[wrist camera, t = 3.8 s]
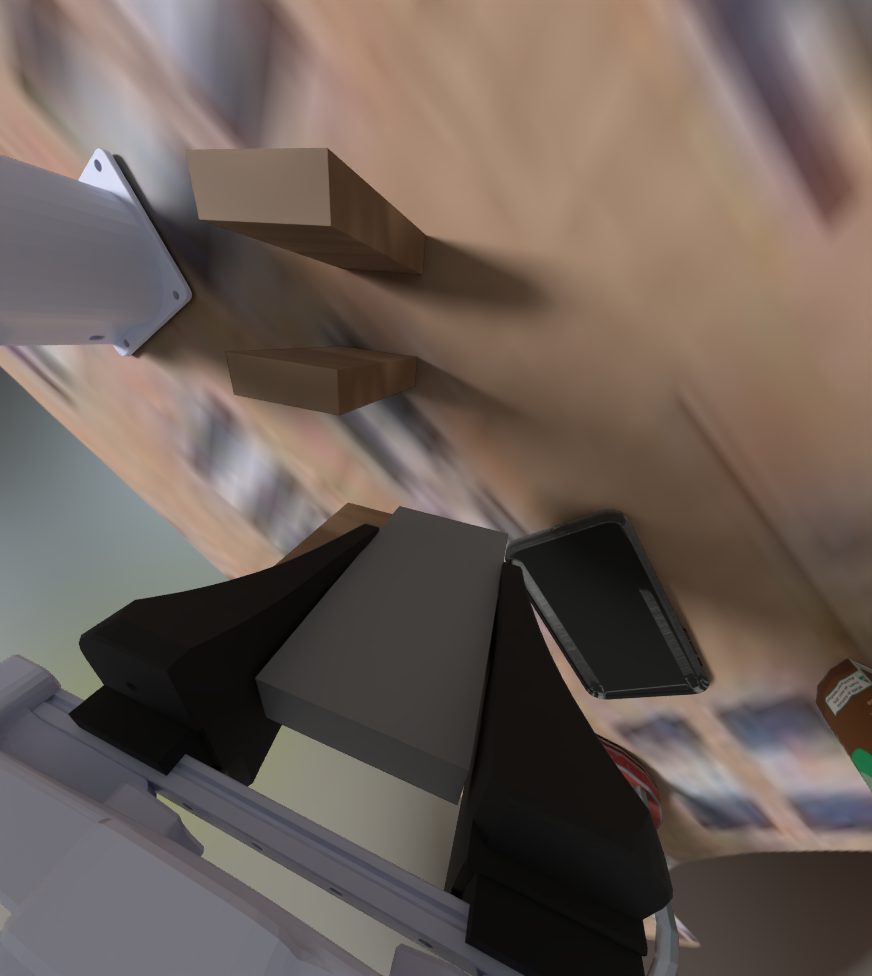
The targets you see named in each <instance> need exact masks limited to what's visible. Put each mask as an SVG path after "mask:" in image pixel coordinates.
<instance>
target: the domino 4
mask: <svg viewBox="0 0 872 976" xmlns="http://www.w3.org/2000/svg"><path fill="white" fill-rule="evenodd" d="M507 538H508V534H506V533H502V532H498V531H494V530H490V529H487V528H483V527H479V526H475V525H471V524H467V523H463V522H459V521H455V520H451V519H448V518H444V517H440V516H436V515H432V514H428V513H424V512H420V511H416V510H413V509H409V508H405V507H401V506H399V507H398V509H397V510H396V511H395V512H394V513H393V514H392V516H391V517H390V518H389V519H388V520H387V522H386V523H385V524H384V525H383V526H382V528H381V529H380V530H379V532H378V534H377V535H376V536H375V537H374V538H373V540H372V541H371V542H370V543H369V544H368V546H367V547H366V548H365V549H364V550H363V551H362V552H361V553H360V554H359V555H358V556H357V557H356V559H355V560H354V561H353V562H352V563H351V564H350V566H349V567H348V568H347V569H346V570H345V572H344V573H343V574H342V575H341V576H340V578H339V579H338V580H337V581H336V582H335V584H334V585H333V586H332V587H331V588H330V589H329V591H328V592H327V593H326V594H325V595H324V597H323V598H322V599H321V600H320V601H319V603H318V604H317V605H316V606H315V607H314V609H313V610H312V611H311V612H310V613H309V614H308V616H307V617H306V618H305V619H304V620H303V622H302V623H301V624H300V625H299V626H298V628H297V629H296V630H295V631H294V632H293V634H292V635H291V636H290V637H289V638H288V639H287V641H286V642H285V643H284V644H283V645H282V647H281V648H280V649H279V650H278V651H277V653H276V654H275V655H274V656H273V657H272V659H271V660H270V661H269V662H268V663H267V664H266V666H265V667H264V668H263V669H262V670H261V672H260V673H259V674H258V675H257V676H256V678H255V680H256V683H257V687H258V690H259V694H260V697H261V701H262V704H263V708H264V711H265V715H266V717H267V718H269V719H271V720H273V721H275V722H278V723H280V724H282V725H284V726H287V727H288V728H291V729H293V730H295V731H297V732H299V733H301V734H304V735H306V736H308V737H310V738H312V739H314V740H317V741H319V742H321V743H323V744H325V745H327V746H330V747H332V748H334V749H336V750H338V751H340V752H343V753H345V754H347V755H349V756H351V757H353V758H356V759H358V760H360V761H362V762H364V763H366V764H369V765H371V766H373V767H375V768H377V769H380V770H382V771H384V772H386V773H388V774H390V775H393V776H395V777H397V778H399V779H401V780H403V781H406V782H408V783H410V784H412V785H414V786H416V787H418V788H421V789H423V790H425V791H427V792H429V793H431V794H434V795H436V796H438V797H440V798H442V799H444V800H447V801H449V802H451V803H453V804H456V805H458V802H459V799H460V796H461V793H462V790H463V787H464V784H465V781H466V778H467V775H468V772H469V768H470V762H471V756H472V750H473V744H474V737H475V731H476V725H477V719H478V713H479V707H480V701H481V695H482V689H483V683H484V677H485V671H486V665H487V659H488V653H489V647H490V641H491V635H492V629H493V622H494V616H495V610H496V604H497V598H498V586H499V580H500V574H501V568H502V564H503V562H504V556H505V550H506V544H507Z"/></svg>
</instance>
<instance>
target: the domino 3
mask: <svg viewBox="0 0 872 976" xmlns="http://www.w3.org/2000/svg"><path fill="white" fill-rule="evenodd" d="M391 516H392V514H389V513H385V512H381V511H378V510H374V509H370V508H366V507H363V506H359V505H355V504H351V503H347V504H346V505H345V506H344V507H342V508H341V509H340V510H339V511H338V512H337V513H335V514H334V515H333V516H332V517H331V518H330V519H328V520H327V521H326V522H325V523H324V524H323V525H321V526H320V527H319V528H318V529H317V530H316V531H314V532H313V533H312V534H311V535H310V536H309V537H307V538H306V539H305V540H304V541H303V542H302V543H300V544H299V545H298V546H297V547H296V548H295V549H293V550H292V551H291V552H290V553H289V554H288V555H286V556H285V557H284V558H283V559H282V560H281V561H279V562H278V563H277V564H276V565H279V564H281V563H284V562H286V561H289V560H291V559H294V558H296V557H298V556H300V555H302V554H305V553H307V552H309V551H311V550H313V549H316V548H318V547H320V546H322V545H324V544H326V543H328V542H330V541H332V540H334V539H336V538H338V537H340V536H342V535H344V534H345V533H347V532H349V531H351V530H353V529H355V528H357V527H359V526H361V525H363V524H369V525H373V526H376V527H379V530H380V529H381V528H382V526H383V525H384V524H385V523H386V522H387V520H388V519H389V518H390V517H391ZM276 565H275V566H276Z"/></svg>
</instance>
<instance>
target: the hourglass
mask: <svg viewBox="0 0 872 976" xmlns="http://www.w3.org/2000/svg"><path fill="white" fill-rule="evenodd" d="M598 739H599V740H600V742H601V743H602V745H603V746H604V748H605V749H606V751H607V752H608V754H609V755H610V757H611V758H612V760H613V761H614V762H615V764H616V765H617V767H618V768H619V770H620V771H621V772H622V774H623V775H624V776H625V778H626V779H627V780H628V782H629V783H630V785H631V786H632V787H633V789H634V790H635V791H636V793H637V794H638V795H639V797H640V798H641V800H642V801H643V802H644V804H645V805H646V806H647V808H648V809H649V811H650V813H651V816H652V819H653V822H654V825H655V828H656V830H657V829H658V827H659V826H660V825H661V824H662V822H663V819H662V807H661V802H660V798H659V795H658V791H657V787H656V784H655V783H654V781H653V780H652V778H651V777H650V775H649V774H648V773H647V771H646V770H645V768H644V767H643V766H642V765H641V764H639V763H638V762H637V761H636V760H634V759H633V758H632V757H631V756H629V755H628V754H627V753H626V752H624V751H623V750H622V749H621V748H619V747H617V746H615V745H613V744H611V743H609V742H607V741H605V740H603V739H601V738H599V737H598ZM655 918H656V923H657V924H656V939H655V953H654V955H655V956H654V959H653V961H652V964H651V966H650V969H649V971H648V974H647V976H677V973H678V970H679V935H678V931H677V926H676V922H675V918H674V913H673V909H672V905H671V901H670V902H669V903H668V904H667V905H666V906H665V907H664V908H663V909H662V910H660V911H658V912H656V913H655Z"/></svg>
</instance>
